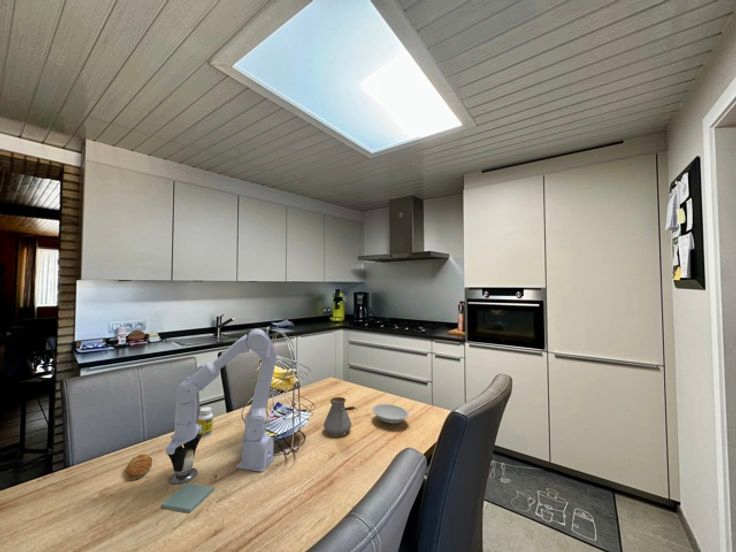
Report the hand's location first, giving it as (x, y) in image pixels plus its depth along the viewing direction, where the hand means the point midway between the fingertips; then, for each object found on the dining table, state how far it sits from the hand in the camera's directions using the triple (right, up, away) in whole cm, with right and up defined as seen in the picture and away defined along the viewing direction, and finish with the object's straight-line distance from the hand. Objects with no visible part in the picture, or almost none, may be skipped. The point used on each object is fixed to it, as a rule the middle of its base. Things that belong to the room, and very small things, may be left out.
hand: (183, 465), depth 93 cm
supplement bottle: (-8, -5, +27) cm, 28 cm away
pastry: (-15, -4, +2) cm, 16 cm away
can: (0, -1, 0) cm, 1 cm away
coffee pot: (+47, -5, +26) cm, 54 cm away
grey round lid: (0, -3, 0) cm, 3 cm away
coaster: (+7, -3, -10) cm, 12 cm away
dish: (+67, -6, +40) cm, 78 cm away
